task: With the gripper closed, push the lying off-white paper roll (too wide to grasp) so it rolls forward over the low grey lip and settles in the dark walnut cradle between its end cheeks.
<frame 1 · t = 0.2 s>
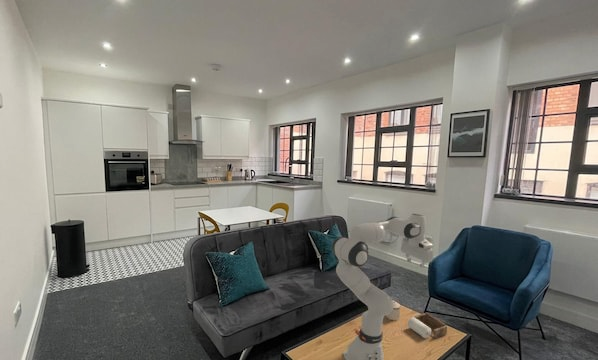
hand: (415, 264, 166), 47 cm above the table, fingers open, 8 cm apart
cradle: (429, 328, 181), on the table
teacup with lid: (391, 316, 195), on the table
roll: (419, 327, 177), point 3 cm above the table
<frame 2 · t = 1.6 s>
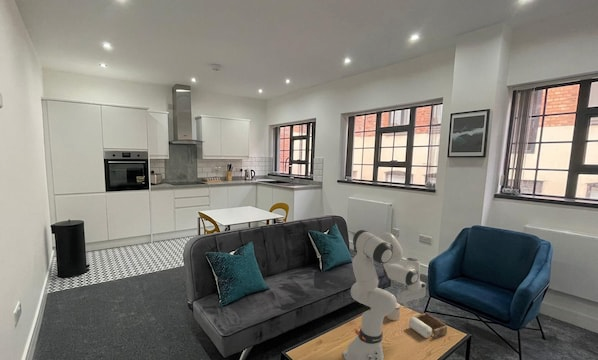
hand: (410, 306, 172), 19 cm above the table, fingers open, 6 cm apart
roll: (420, 327, 177), point 3 cm above the table, tilted 14°
everything else where it was.
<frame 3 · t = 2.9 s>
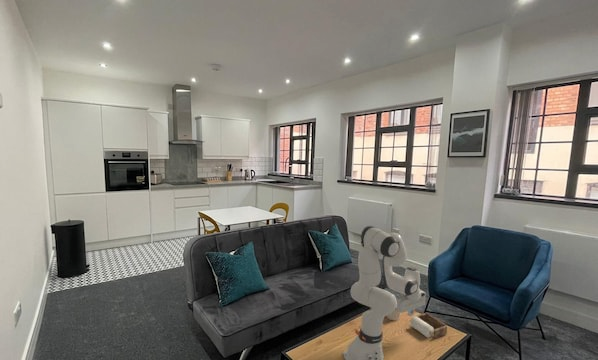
hand: (410, 315, 173), 13 cm above the table, fingers closed
roll: (421, 326, 178), point 3 cm above the table, tilted 37°
everything else where it was.
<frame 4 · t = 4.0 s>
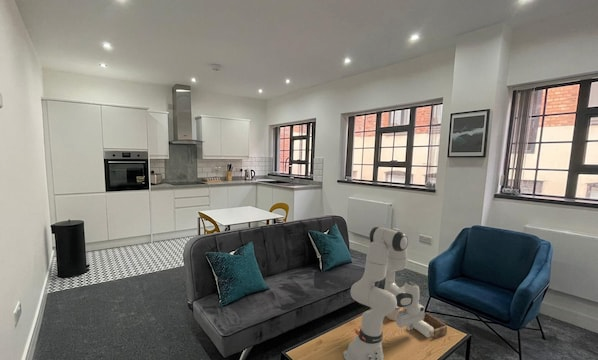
hand: (409, 329, 174), 4 cm above the table, fingers closed
roll: (421, 326, 178), point 3 cm above the table, tilted 38°, touching cradle
everything else where it was.
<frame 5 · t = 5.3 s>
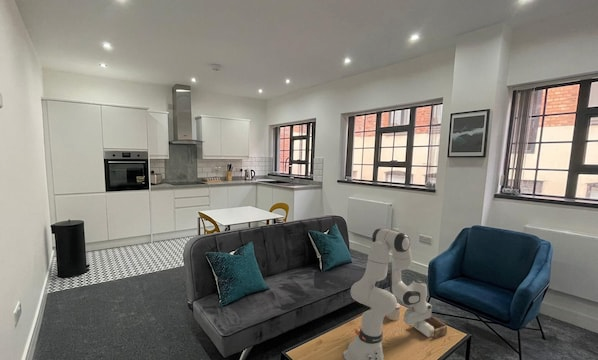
hand: (416, 327, 176), 4 cm above the table, fingers closed
roll: (422, 326, 178), point 4 cm above the table, tilted 39°, touching cradle, gripper
everything else where it was.
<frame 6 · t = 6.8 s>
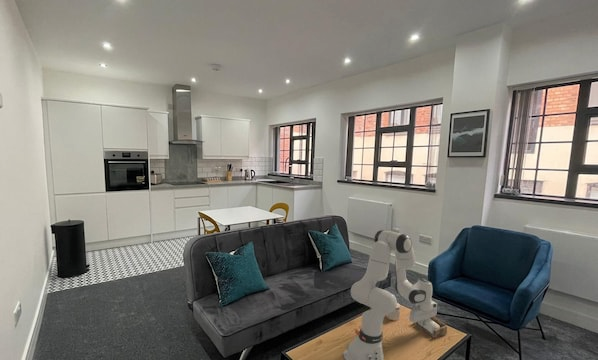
hand: (422, 325, 178), 4 cm above the table, fingers closed
roll: (428, 324, 181), point 3 cm above the table, tilted 148°
everything else where it was.
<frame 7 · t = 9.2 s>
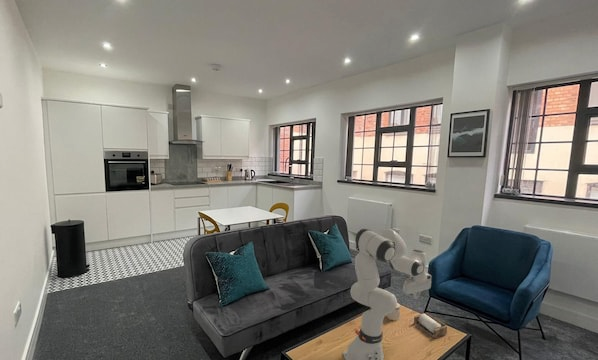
hand: (416, 297, 173), 24 cm above the table, fingers closed
roll: (429, 323, 181), point 3 cm above the table, tilted 169°
everything else where it was.
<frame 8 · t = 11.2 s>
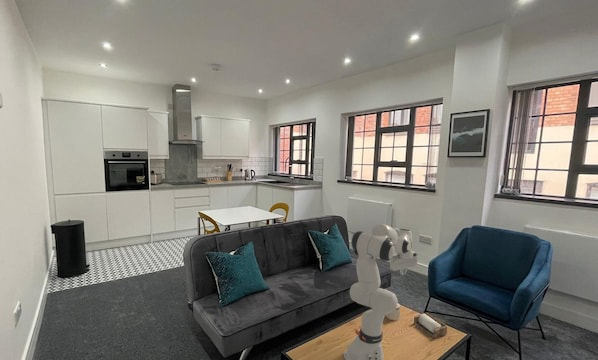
hand: (403, 274, 182), 34 cm above the table, fingers closed
nothing on the table moved.
at the end: roll 0.2 cm off-centre on the cradle, point 3.4 cm above the cradle's base; roll moved 9.3 cm from its start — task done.
